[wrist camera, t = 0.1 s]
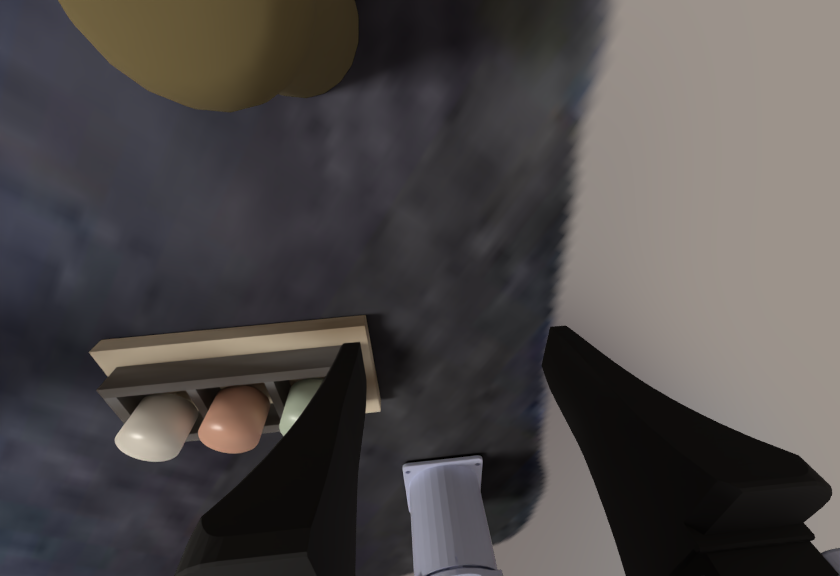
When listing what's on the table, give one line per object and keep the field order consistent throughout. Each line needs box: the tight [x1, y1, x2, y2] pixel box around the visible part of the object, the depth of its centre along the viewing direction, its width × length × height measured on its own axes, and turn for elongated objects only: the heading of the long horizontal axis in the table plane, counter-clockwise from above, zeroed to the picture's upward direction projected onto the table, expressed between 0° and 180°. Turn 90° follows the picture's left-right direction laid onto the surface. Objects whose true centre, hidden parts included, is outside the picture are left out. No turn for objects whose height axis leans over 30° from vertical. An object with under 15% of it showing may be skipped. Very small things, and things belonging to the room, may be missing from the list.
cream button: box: [115, 393, 198, 462], centre depth 23 cm, size 4×4×3 cm
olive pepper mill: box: [58, 0, 359, 112], centre depth 11 cm, size 6×6×11 cm
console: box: [89, 315, 381, 442], centre depth 25 cm, size 9×18×3 cm, turn 93°
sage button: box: [279, 378, 324, 436], centre depth 23 cm, size 4×4×3 cm
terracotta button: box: [198, 385, 270, 453], centre depth 23 cm, size 4×4×3 cm
